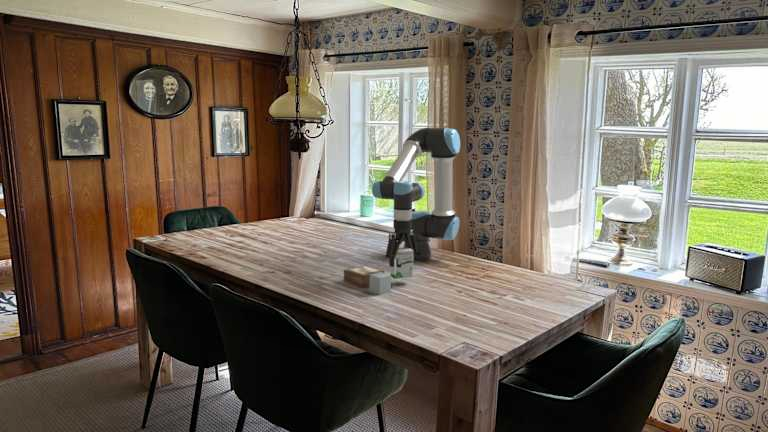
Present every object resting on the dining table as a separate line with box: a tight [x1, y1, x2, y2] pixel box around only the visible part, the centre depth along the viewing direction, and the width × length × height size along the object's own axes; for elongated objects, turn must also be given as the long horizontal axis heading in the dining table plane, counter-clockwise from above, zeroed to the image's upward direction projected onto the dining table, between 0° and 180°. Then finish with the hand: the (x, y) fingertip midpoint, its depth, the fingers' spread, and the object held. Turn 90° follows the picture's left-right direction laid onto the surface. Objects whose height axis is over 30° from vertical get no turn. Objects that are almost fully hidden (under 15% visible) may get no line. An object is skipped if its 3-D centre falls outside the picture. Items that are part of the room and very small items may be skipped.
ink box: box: [389, 247, 414, 279], centre depth 222 cm, size 9×5×12 cm, turn 105°
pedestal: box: [343, 265, 385, 289], centre depth 224 cm, size 12×12×5 cm
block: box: [368, 272, 392, 296], centre depth 212 cm, size 6×6×7 cm
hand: (401, 271), depth 223 cm, fingers closed on ink box, 9 cm apart
